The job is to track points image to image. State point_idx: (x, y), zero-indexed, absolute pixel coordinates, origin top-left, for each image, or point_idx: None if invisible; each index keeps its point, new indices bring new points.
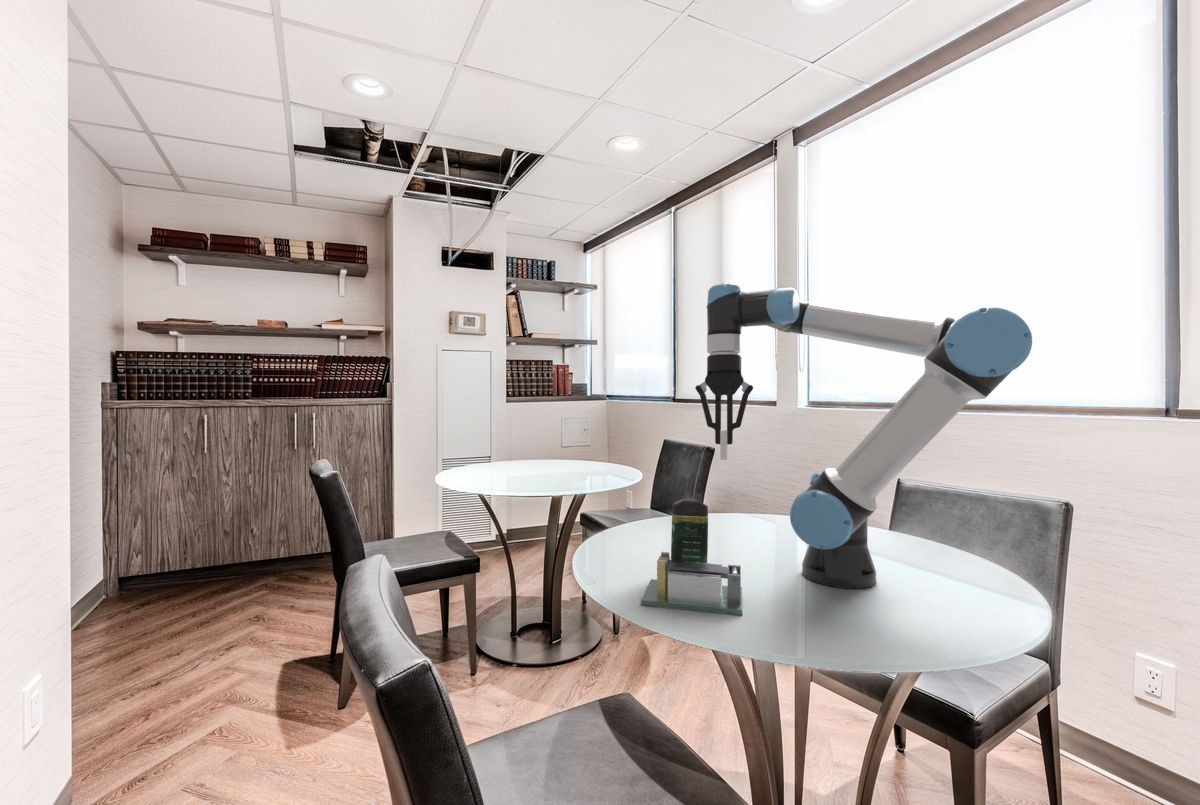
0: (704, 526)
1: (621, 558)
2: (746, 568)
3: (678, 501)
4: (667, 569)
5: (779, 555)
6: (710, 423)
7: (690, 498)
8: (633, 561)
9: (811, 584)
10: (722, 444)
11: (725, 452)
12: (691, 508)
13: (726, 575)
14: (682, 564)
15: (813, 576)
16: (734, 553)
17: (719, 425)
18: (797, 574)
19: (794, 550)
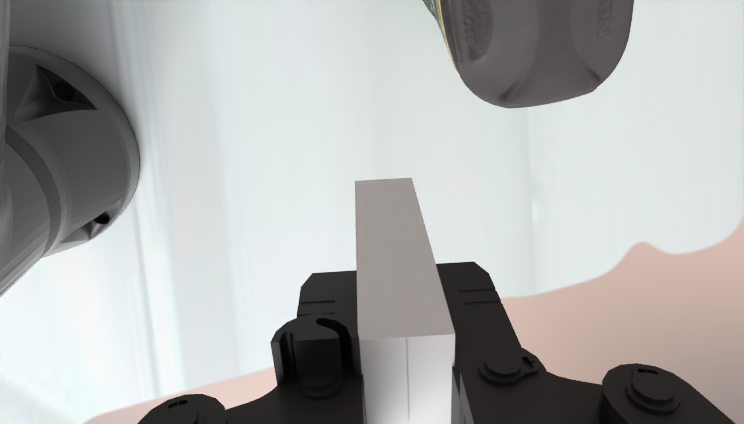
0: None
1: (690, 122)
2: (301, 144)
3: (608, 28)
4: None
5: (220, 288)
6: (648, 405)
7: (551, 18)
8: (651, 104)
9: (100, 55)
10: (405, 237)
11: (370, 205)
12: None
13: None
14: None
15: (90, 83)
16: (348, 269)
17: (485, 395)
18: (151, 135)
19: (185, 342)
